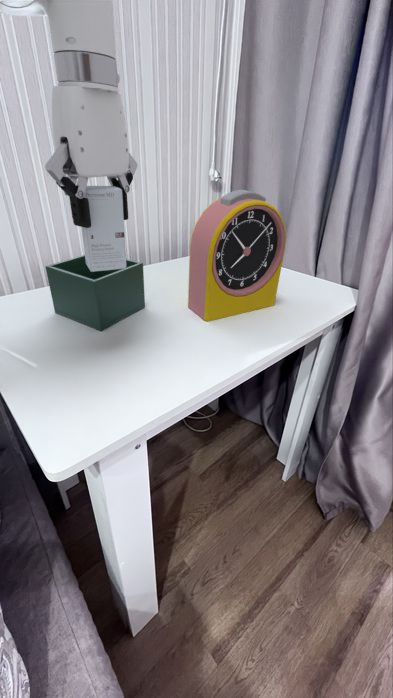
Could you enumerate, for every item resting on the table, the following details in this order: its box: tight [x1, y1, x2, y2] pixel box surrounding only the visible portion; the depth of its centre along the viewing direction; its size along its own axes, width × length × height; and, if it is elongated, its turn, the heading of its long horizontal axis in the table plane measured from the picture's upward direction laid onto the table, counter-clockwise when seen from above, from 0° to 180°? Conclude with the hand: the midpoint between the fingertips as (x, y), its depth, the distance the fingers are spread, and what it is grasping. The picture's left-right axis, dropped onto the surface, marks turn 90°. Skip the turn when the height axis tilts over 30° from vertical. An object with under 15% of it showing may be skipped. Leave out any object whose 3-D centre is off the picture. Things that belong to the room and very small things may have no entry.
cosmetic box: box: [81, 185, 127, 272], centre depth 52 cm, size 6×4×12 cm
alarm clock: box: [187, 189, 287, 322], centre depth 76 cm, size 21×9×26 cm, turn 120°
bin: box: [45, 254, 146, 332], centre depth 75 cm, size 15×15×11 cm
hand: (102, 221), depth 52 cm, fingers closed on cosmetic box, 7 cm apart
